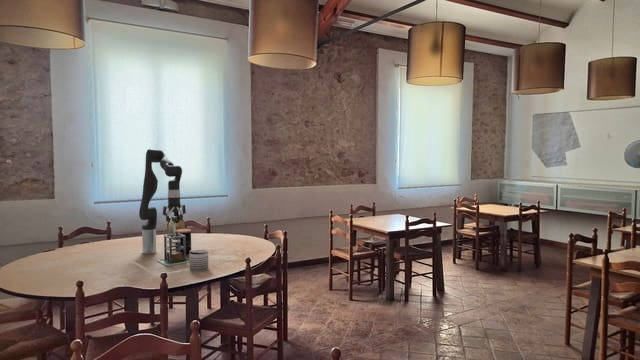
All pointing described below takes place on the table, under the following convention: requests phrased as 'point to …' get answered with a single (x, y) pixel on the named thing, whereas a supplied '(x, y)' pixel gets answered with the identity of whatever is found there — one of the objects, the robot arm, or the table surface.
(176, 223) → the ceramic jug
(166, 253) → the press frame
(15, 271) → the table surface
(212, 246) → the table surface
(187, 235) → the coffee jar
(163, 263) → the tray
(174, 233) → the plunger
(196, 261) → the can
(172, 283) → the table surface
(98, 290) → the table surface
